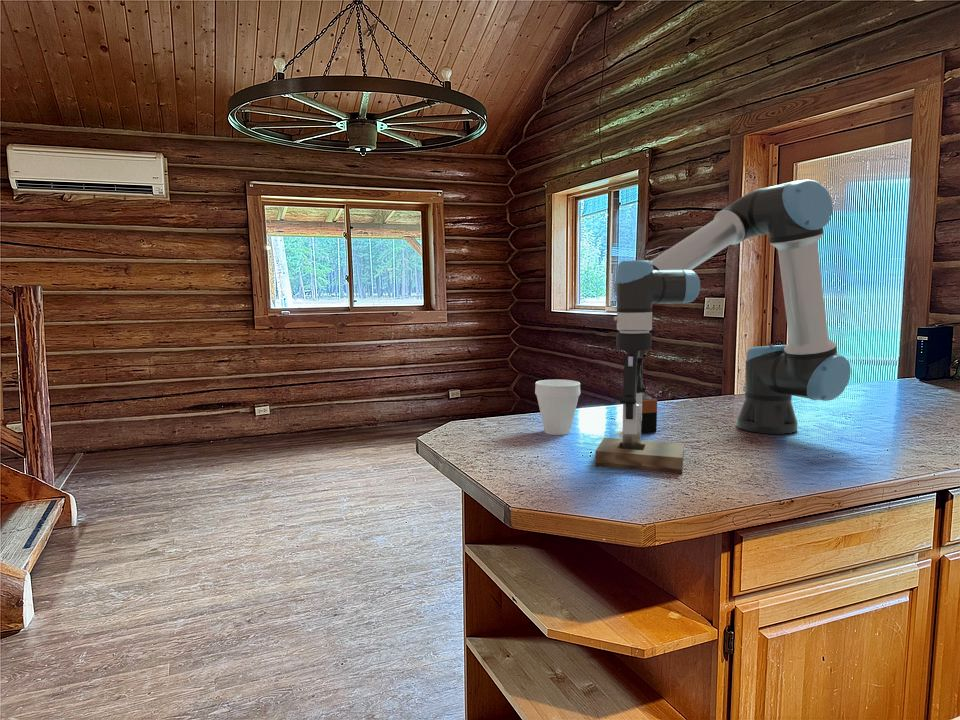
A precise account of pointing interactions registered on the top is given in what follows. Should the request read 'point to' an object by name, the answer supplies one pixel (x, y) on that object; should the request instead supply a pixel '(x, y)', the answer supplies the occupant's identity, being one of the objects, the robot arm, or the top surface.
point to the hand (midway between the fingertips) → (632, 426)
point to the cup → (557, 404)
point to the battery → (649, 414)
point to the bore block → (641, 456)
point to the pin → (634, 439)
